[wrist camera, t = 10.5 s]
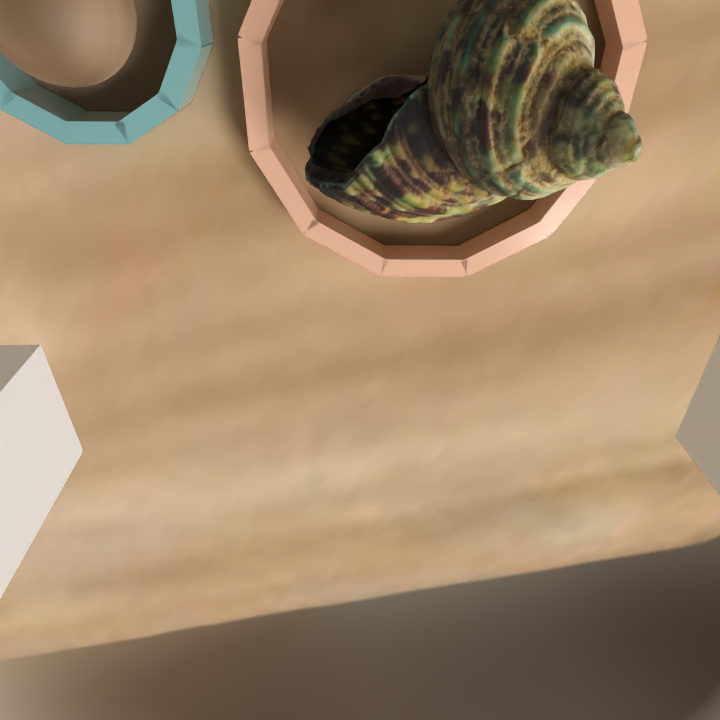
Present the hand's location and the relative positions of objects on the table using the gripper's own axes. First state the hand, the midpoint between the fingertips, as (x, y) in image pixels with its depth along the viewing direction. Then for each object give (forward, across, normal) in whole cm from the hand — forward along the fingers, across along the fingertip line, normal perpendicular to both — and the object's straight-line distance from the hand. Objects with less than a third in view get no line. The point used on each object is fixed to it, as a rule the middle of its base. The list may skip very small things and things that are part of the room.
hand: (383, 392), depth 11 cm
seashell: (+21, +4, +2) cm, 21 cm away
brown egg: (+21, -12, +6) cm, 25 cm away
